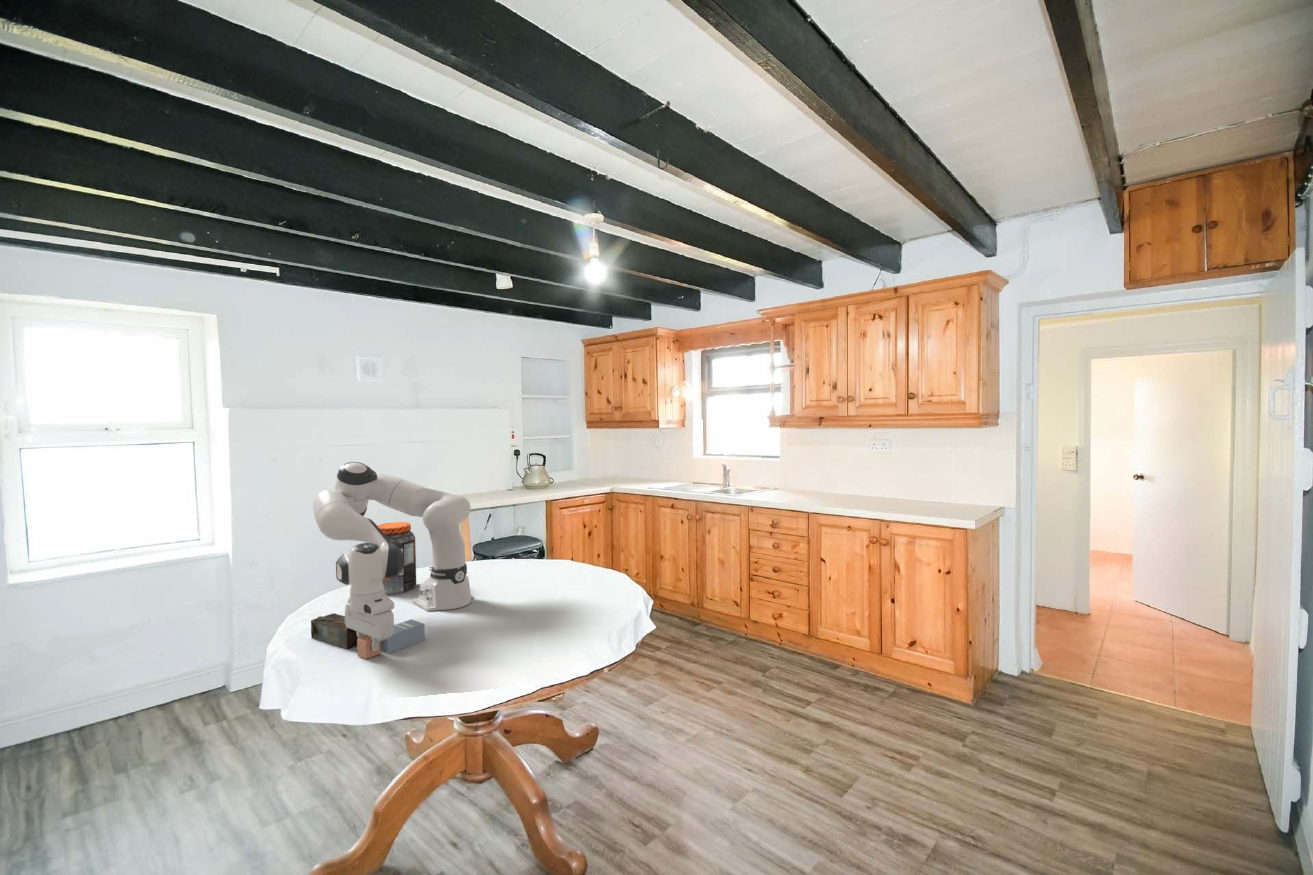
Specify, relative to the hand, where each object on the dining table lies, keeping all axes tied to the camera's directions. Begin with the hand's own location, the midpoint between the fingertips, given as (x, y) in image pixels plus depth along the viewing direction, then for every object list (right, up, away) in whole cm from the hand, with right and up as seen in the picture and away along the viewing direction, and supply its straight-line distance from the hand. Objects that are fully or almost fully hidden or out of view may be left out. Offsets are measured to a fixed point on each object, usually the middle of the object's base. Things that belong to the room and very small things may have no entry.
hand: (369, 647), depth 164 cm
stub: (0, -2, 0) cm, 2 cm away
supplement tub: (-21, 0, +62) cm, 66 cm away
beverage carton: (-15, -2, +12) cm, 19 cm away
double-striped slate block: (+5, -2, +8) cm, 10 cm away
